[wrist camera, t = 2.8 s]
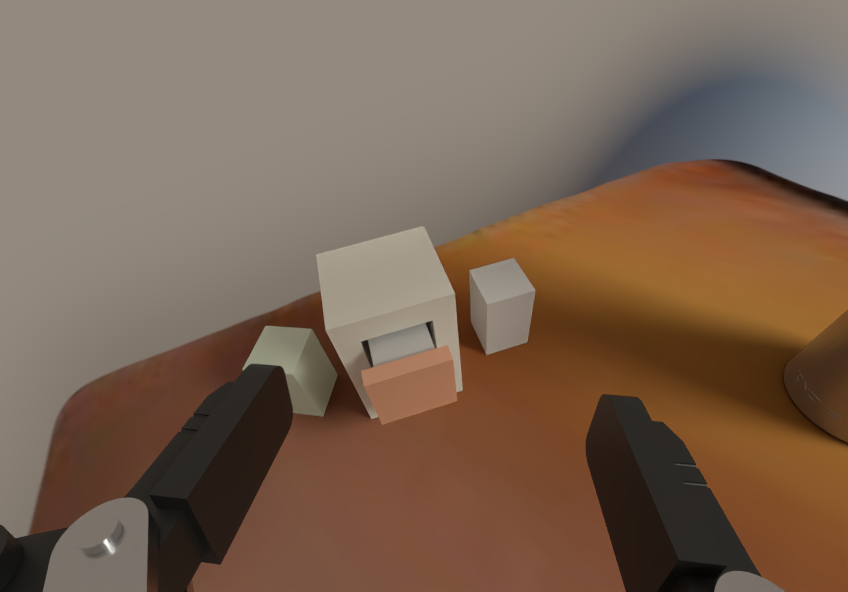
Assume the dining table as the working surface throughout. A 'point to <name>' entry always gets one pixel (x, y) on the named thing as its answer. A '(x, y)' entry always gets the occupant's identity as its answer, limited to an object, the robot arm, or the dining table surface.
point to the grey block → (501, 305)
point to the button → (408, 374)
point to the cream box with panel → (386, 298)
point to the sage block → (298, 366)
